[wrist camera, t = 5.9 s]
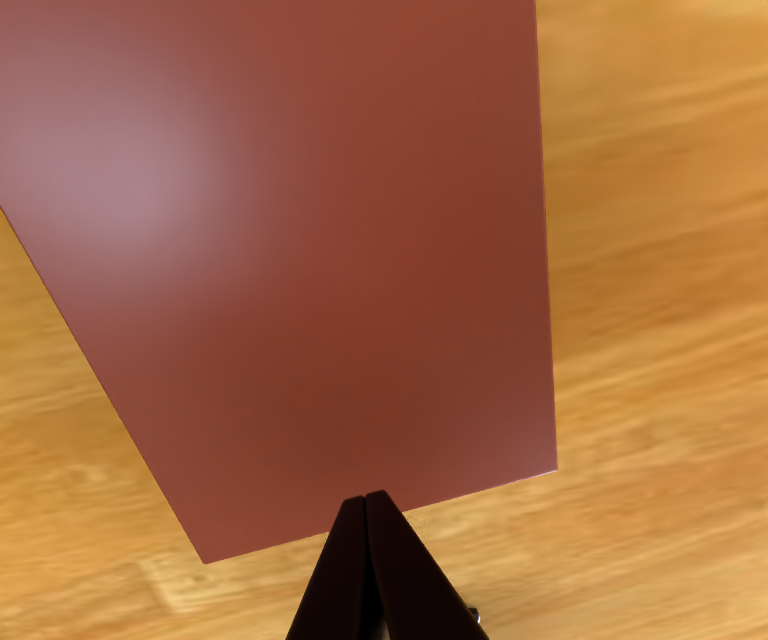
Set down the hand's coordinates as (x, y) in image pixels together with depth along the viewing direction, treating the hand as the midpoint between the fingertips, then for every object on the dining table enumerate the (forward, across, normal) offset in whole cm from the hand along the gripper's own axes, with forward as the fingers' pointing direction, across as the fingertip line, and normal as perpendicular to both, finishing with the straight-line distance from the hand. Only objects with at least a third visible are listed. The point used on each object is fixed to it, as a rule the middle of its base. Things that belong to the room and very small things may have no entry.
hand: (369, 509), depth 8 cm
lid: (+5, 0, -3) cm, 6 cm away
